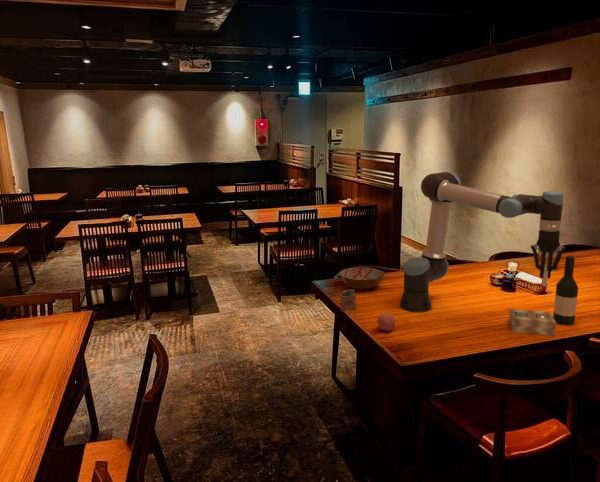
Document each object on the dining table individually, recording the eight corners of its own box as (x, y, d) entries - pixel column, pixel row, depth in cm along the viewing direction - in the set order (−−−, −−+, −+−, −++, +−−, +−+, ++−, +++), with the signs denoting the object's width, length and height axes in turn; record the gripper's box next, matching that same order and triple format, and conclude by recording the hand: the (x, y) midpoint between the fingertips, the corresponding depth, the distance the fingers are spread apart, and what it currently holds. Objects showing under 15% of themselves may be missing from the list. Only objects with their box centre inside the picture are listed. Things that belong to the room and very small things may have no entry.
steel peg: (536, 329, 196) (538, 316, 195) (535, 326, 200) (536, 313, 198) (547, 330, 195) (548, 317, 193) (545, 327, 198) (546, 314, 197)
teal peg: (516, 328, 198) (517, 315, 197) (514, 324, 202) (516, 311, 201) (526, 328, 197) (527, 316, 196) (525, 325, 201) (526, 312, 200)
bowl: (393, 290, 253) (393, 276, 251) (352, 296, 244) (352, 282, 242) (369, 278, 276) (370, 265, 274) (331, 283, 267) (331, 270, 265)
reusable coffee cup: (531, 268, 288) (533, 244, 285) (547, 266, 292) (549, 242, 289) (547, 273, 277) (549, 249, 273) (564, 271, 280) (566, 247, 277)
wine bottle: (555, 316, 210) (561, 252, 204) (576, 321, 205) (583, 255, 199) (550, 322, 204) (557, 256, 198) (572, 327, 199) (579, 259, 193)
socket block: (512, 332, 195) (513, 318, 194) (508, 321, 206) (509, 308, 205) (554, 336, 190) (556, 322, 189) (548, 325, 202) (550, 312, 200)
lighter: (341, 311, 223) (341, 291, 220) (339, 309, 226) (338, 289, 224) (357, 309, 225) (357, 290, 222) (354, 307, 228) (354, 288, 226)
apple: (398, 329, 200) (398, 312, 199) (389, 334, 195) (389, 317, 193) (383, 325, 205) (383, 308, 204) (374, 330, 200) (374, 312, 198)
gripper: (533, 230, 187) (528, 286, 192) (569, 232, 183) (563, 289, 188) (530, 227, 194) (525, 281, 199) (565, 228, 190) (559, 283, 195)
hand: (544, 285), depth 194 cm, fingers closed
